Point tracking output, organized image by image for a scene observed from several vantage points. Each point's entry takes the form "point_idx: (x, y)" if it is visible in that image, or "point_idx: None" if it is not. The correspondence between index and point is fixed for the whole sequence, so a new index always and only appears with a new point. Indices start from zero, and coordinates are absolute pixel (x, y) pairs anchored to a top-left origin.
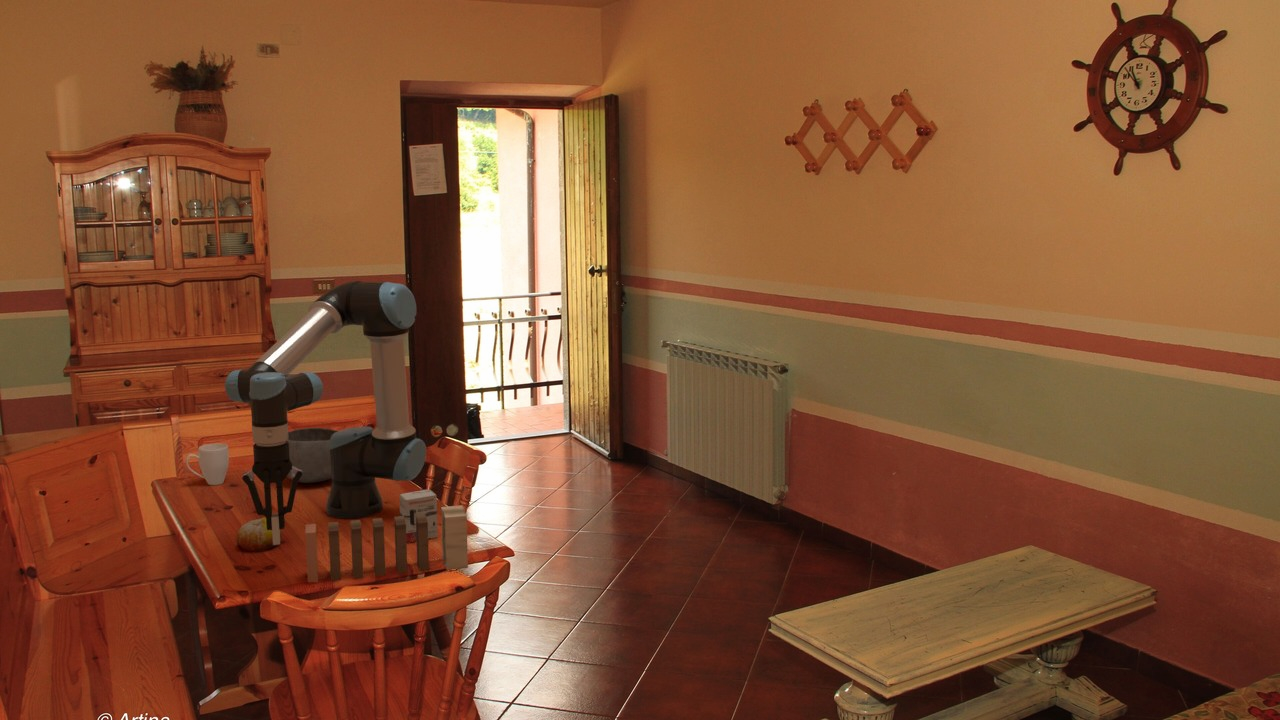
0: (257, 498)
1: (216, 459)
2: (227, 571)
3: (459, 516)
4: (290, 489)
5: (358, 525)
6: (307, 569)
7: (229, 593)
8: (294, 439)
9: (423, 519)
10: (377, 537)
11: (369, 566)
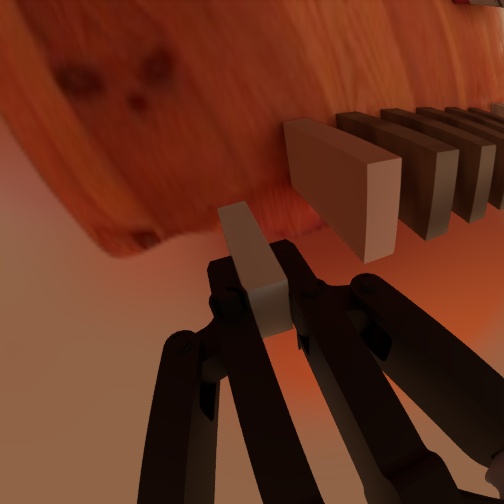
0: (211, 467)
1: None
2: (48, 113)
3: None
4: (439, 415)
5: (485, 195)
6: (306, 201)
7: (118, 247)
8: None
9: None
10: None
11: (409, 102)
